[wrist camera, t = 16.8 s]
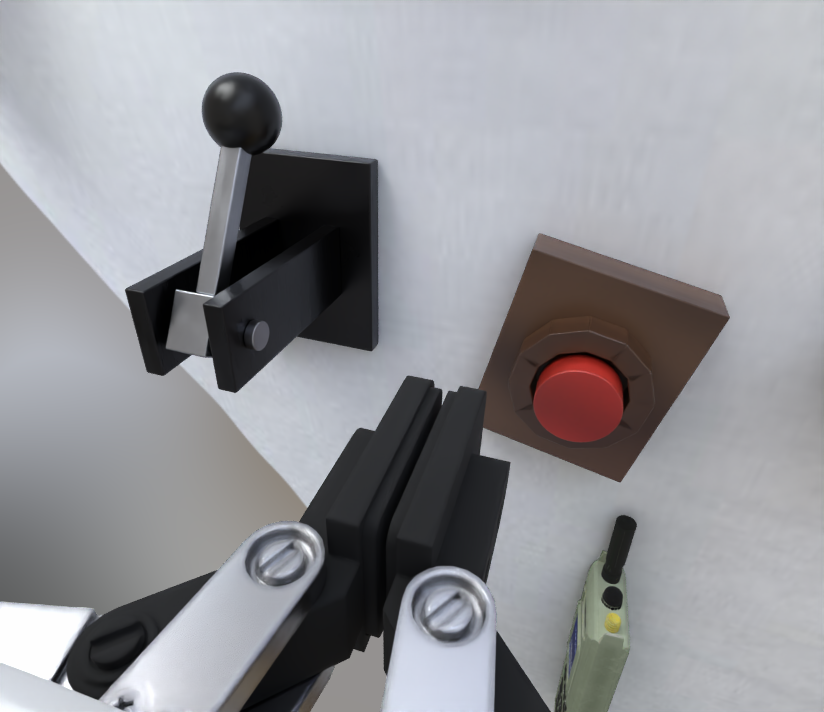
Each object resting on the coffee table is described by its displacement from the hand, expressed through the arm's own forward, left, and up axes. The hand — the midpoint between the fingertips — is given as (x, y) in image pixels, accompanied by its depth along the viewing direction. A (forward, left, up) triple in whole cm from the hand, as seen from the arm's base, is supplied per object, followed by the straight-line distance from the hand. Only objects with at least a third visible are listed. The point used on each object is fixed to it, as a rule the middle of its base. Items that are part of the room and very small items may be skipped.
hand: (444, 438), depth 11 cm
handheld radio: (+23, +25, -21) cm, 40 cm away
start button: (+6, +8, -17) cm, 19 cm away
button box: (+6, +8, -21) cm, 23 cm away
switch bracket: (+12, -9, -21) cm, 26 cm away
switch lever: (+9, -11, -14) cm, 20 cm away
